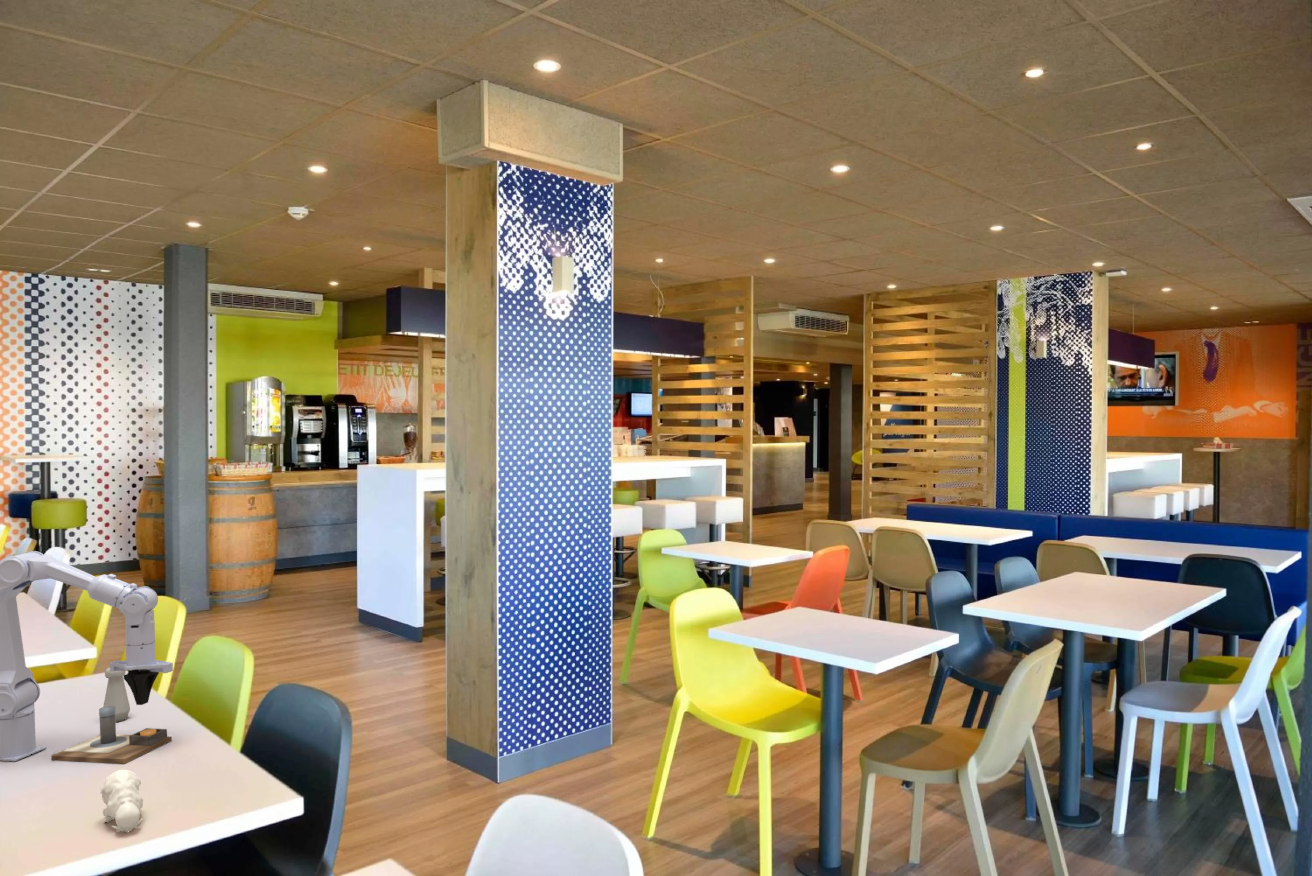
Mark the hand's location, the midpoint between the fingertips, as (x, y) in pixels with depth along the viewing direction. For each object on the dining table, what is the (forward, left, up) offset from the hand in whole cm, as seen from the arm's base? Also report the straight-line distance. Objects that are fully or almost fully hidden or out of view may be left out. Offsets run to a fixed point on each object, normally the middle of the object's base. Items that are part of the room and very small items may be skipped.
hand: (142, 703), depth 202 cm
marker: (-7, -2, -8) cm, 11 cm away
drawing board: (-5, -4, -9) cm, 11 cm away
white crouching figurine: (+27, -37, -10) cm, 47 cm away
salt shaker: (-21, +15, -10) cm, 28 cm away
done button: (+1, 0, -8) cm, 8 cm away
